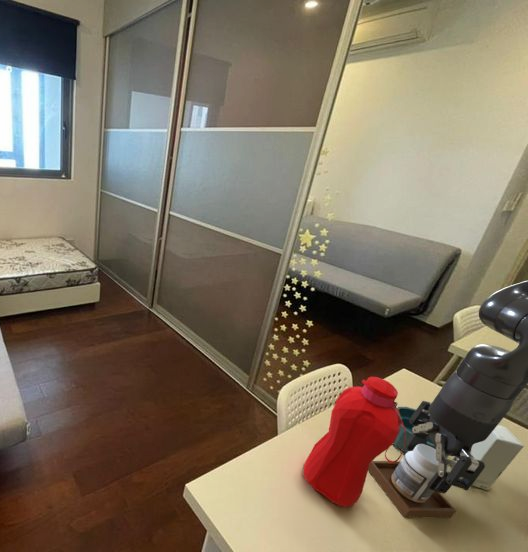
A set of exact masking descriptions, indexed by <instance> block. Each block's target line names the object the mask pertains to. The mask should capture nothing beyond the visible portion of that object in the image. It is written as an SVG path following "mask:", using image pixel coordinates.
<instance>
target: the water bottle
mask: <svg viewBox="0 0 528 552" xmlns="http://www.w3.org/2000/svg"><path fill="white" fill-rule="evenodd" d="M361 384H363V386H359V385H357V386H349V387H347V388H346V389H344V390H343V391H342V392H341V393H340V395H339V396H338V397H337V398H336V400H335V404H334V406H333V408H332V409H331V414H330V420H329V426H328V427H329V428H328V432H326V433H325V434H324V435H323V436H322V437H321V438H319V440H318V441H317V442H316V443H315V444H314V445H313V447H312V449H311V451H310V452H309V454H308V456H307V458H306V460H305V462H304V464H303V477H304V479H305V480H306V482H307V483H308V484H309V485H310V486H311V488H313V489H314V490H315V491H316V492H317V493H320V494H322V495H324V497H326V498H327V499H328V501H331V502H332V503H333V504H336V505H338V506H340V507H345V508H350V507H352V506H353V505H355V504H356V503H357V501H358V500H359V499H360V497H361V495H362V493H363V490H364V486H365V483H366V478H367V476H368V473H369V471H368V468H369V464H370V463H371V462H372V461H375V459H377V457H379V456H380V455H381V454H383V453H384V452H385V453H384V457H385V461H389V462H391V463H394V462H396V461H399V460H400V458H401V457H402V455H403V450H401V453H400V454H399V456H398V458H397V459H395V460H390V459H389V458H387V452H388V450H389V449H390V447H391V446H392V445H393V444H394V442H395V440H396V438H397V435H398V434H399V432H400V429H399V426H400V428H401V423H402V425H403V422H402V418H401V416H400V412H399V411H398V409H397V407H398V402H396V399H397V397H398V396H399V392H398V390H397V388H396V387H395V386H394V385H393V384H392V383H391V382H390V381H387V380H386V379H383V378H381V377H378V376H369V377H367V379H364V378H363V379H362V380H361ZM403 427H404V425H403ZM404 429H405V427H404ZM405 438H406V429H405ZM404 444H405V441H404ZM403 449H404V446H403Z"/></svg>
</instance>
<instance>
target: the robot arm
mask: <svg viewBox="0 0 528 552" xmlns="http://www.w3.org/2000/svg"><path fill="white" fill-rule="evenodd" d="M478 318H479V320H480V322H481V323H482V324H483V325H485V326H486V327H487V328H489V329H491V330H493V331H494V332H496V333H498V334H500V335H502V336H503V337H505V338H507V339H510V340H511V341H513V342H515V343H516V344H518V345H517V346H516V347H515V348H514V349H513V350H509V349H505V348H503V347H500V346H496V345H493V344H487V343H486V344H484V343H482V344H480V343H479V344H476V345H475V346H473V347H471V349H469V351H468V352H467V354H466V355H465V357H464V358H463V359H462V361H461V363H460V364H459V366H458V367H457V369H455V371H454V372H453V373H452V375H450V376H449V378H448V379H447V380H446V381H445V382H444V384H443V386H442V387H441V389H440V390H439V392H438V393H437V395H436V396H435V398H434V399H433V401H432V402H430V401H427V400H426V401H425V400H422V401H421V403H420V404H419V405H418V407H417V408H415V409H416V411H415V412H414V414H413V415H412V416H411V418H410V420H409V421H410V423H411V424H413V426H414V427H413V428H412V431H413V433H412V435H411V436H410V438H409V439H408V442H407V444H406V447H407V449H408V450H411V451H413V449H414V448H415V447H416V445H418V444H426V443H427V441H428V439H427V437H428V438H429V439H430V441H431V442H432V443H433V444H434V447H435V449H436V460H437V461H438V462H439V466H438V472H436V474H435V475H434V476H433V478H432V479H431V480H430V481H429V483H428V487H429V488H430V490H433V491H436V492H439V493H441V494H442V495H443V494H447V492H448V491H449V490H450V489H451V488H452V487H456V488H459V489H462V490H465V491H468V490H470V488H471V487H472V486H473V485H472V484H473V483H474V481H475V480H476V479H477V477H478V476H479V475H480V473H481V472H482V471H483V469H484V468H485V464H484V462H483V461H480V460H477V459H475V458H474V457H473V456H472V454H471V449H472V446H473V444H475V443H478V442H482V441H485V440H486V439H487V437H488V436H489V435H490V434H491V433H492V431H493V430H494V429H495V428H496V426H497V425H500V423H501V422H502V420H503V419H504V418H505V417H506V415H507V414H508V413H509V411H510V409H512V406H513V403H514V402H515V401H516V399H517V397H519V395H521V393H522V392H523V390H524V389H525V388H526V387H527V385H528V280H525V281H521V282H519V283H515V284H512V285H509V286H506V287H504V288H501V289H500V290H497V291H495V292H494V293H492V294H490V295H489V296H488V297H486V299H485V300H484V301H483V302H482V303H481V305H480V307H479V310H478ZM419 418H424V419H423V420H422V421H421V420H419ZM445 454H446V455H449V457H455V456H456V460H454V461H452V460H453V459H450V458H449V459H448V458H447V459H446V458H445ZM448 464H449V465H448ZM447 465H448V466H451V470H450V471H448V467H447ZM461 477H463V479H461Z"/></svg>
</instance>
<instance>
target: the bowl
mask: <svg viewBox="0 0 528 552" xmlns="http://www.w3.org/2000/svg"><path fill="white" fill-rule="evenodd" d="M396 408H397V409H398V411H399V412H400V416H401V418H402V422H403V425H404V427H405V429H406V438H405V429H404V427H403V425H402V423H401V428H400V426H399V429H400V432H399V434H398V435H397V438H396V440H395V442H394V443H393V444H394V446H396V447H397V449H400V450H401V451H402V450H403V452H404V453H405V454H406V453H407V452H409V451H411V450H408V449H407V447H406V444H407V442H408V439H409V438H410V436H411V435H412V433H413V431H412V428H413V427H414V426H413V424H411V423H410V421H409V420H410V418H411V416H412V415H413V414H414V412H415V411H416V409H417V408H412V407H409V406H396ZM423 419H424V418H419V420H421V421H422V420H423ZM427 439H428V441H427V443H426V444H425V445H428V446H430V447H432V448H434V449H435V447H434V444H433V443H432V442H431V441H430V439H429V438H428V437H427ZM404 441H405V444H404ZM403 446H404V449H403ZM403 452H402V453H403ZM445 458H446V459H448V458H450V456H449V455H446V454H445Z"/></svg>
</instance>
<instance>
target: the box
mask: <svg viewBox="0 0 528 552" xmlns="http://www.w3.org/2000/svg"><path fill="white" fill-rule="evenodd" d="M524 447H525V445H524V444H523V443H522V441H520V440H519V439H518V438H517V437H516V436H515V435H514V434H513V432H512V431H510V429H508V428H507V427H506V426H503V425H500V424H498V425H497V426H496V428H495V429H494V430H493V431H492V433H491V434H490V435H489V436H488V437H487V439H486V440H485V441H482V442H478V443H475V444H473V446H472V449H471V454H472V456H473V457H474V458H475V459H477V460H480V461H483V462H484V464H485V468H484V469H483V471H482V472H481V473H480V475H479V476H478V477H477V479H476V480H475V481H474V483H473V484H472V485H471V486H473V487H475V488H479V489H482V490H485V491H489V490H490V489H491V487H493V485H494V484H495V482H496V481H497V480H498V478H500V477H501V475H502V474H503V473H504V472H505V470H506V469H507V468H508V466H509V465H510V464H511V463H512V462H513V460H515V458H516V457H517V456H518V454H519V453H520V452H521V451H522V449H523V448H524ZM451 460H452V461H454V460H456V456H453V459H451ZM460 479H463V477H461V478H460Z"/></svg>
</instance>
